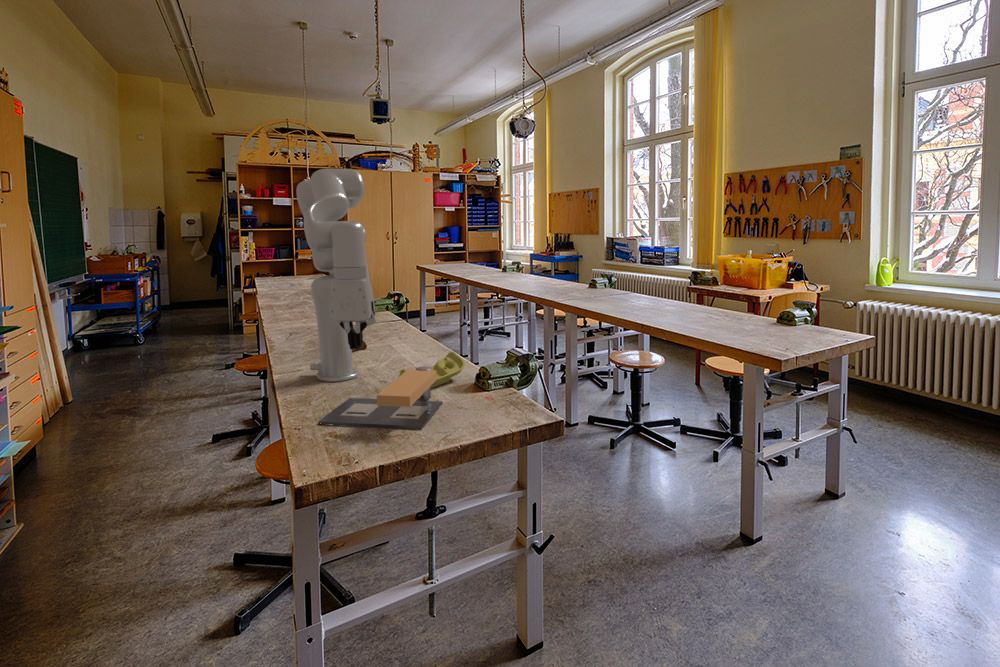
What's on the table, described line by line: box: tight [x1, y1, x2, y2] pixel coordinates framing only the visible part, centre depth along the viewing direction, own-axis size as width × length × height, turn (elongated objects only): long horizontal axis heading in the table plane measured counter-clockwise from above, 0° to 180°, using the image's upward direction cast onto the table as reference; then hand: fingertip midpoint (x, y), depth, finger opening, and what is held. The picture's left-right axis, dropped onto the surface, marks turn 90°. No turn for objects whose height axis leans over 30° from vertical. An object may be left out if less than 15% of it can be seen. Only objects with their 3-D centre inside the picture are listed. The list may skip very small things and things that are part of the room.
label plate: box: [317, 387, 443, 430], centre depth 146 cm, size 26×24×6 cm
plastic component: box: [398, 351, 466, 390], centre depth 171 cm, size 20×7×10 cm
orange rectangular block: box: [376, 366, 437, 407], centre depth 144 cm, size 8×26×2 cm, turn 170°
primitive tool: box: [352, 340, 368, 353], centre depth 208 cm, size 19×6×4 cm, turn 147°
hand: (356, 347), depth 142 cm, fingers closed
